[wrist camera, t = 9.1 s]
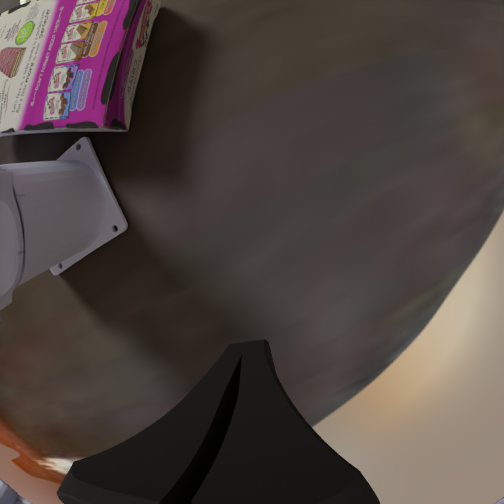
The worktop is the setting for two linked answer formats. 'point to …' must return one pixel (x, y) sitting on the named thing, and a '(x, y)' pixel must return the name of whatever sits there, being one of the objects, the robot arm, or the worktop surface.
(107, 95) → the candy bar box
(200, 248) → the worktop surface
